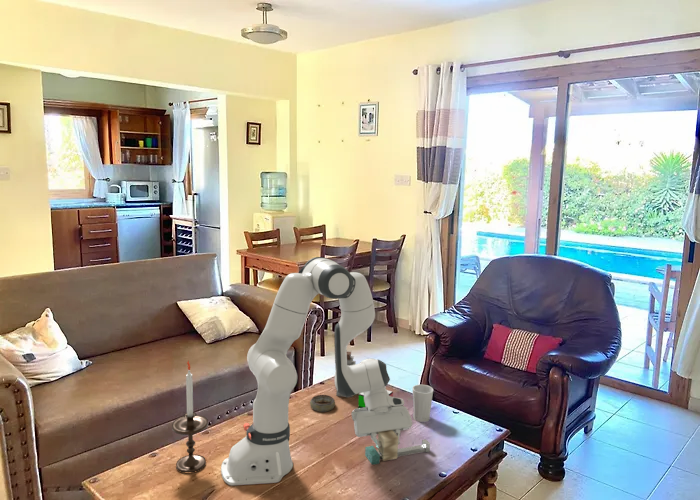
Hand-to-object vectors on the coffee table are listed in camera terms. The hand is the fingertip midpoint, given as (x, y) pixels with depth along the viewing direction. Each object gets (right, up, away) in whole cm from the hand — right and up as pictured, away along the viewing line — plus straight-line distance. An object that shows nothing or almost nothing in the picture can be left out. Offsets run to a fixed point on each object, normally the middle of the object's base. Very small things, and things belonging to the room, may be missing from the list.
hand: (388, 446), depth 173 cm
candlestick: (-64, -4, -7) cm, 64 cm away
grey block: (-15, +4, +49) cm, 51 cm away
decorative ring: (-24, +2, +36) cm, 43 cm away
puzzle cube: (-3, 0, +29) cm, 29 cm away
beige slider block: (0, -4, +1) cm, 4 cm away
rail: (+4, -4, +3) cm, 6 cm away
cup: (+15, 0, +29) cm, 32 cm away
